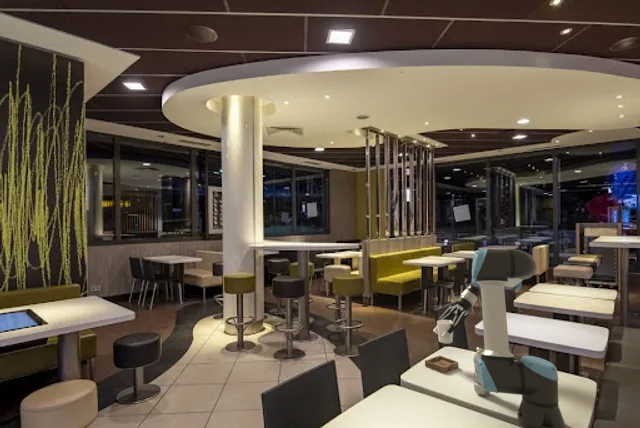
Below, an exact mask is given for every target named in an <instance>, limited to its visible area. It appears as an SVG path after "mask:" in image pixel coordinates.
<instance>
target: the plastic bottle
mask: <svg viewBox="0 0 640 428" xmlns="http://www.w3.org/2000/svg"><path fill="white" fill-rule="evenodd" d="M484 349H485V346H483V345H482V346H481V345H478V346H476V349H475V350H476V353H475V354H474V356H473V359H472V360H473V364H474V374H475V376H474V385H473V387H474V391H475V393H476V394H478V395H479V396H484V397H485V396H489V395H490V394H491V392H489V391H486V390H484V388H483V387H482V384H481V381H480V377H479V372H478V366H477V359H478V358H481V353H482V352H483V351H484Z"/></svg>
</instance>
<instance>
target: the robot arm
mask: <svg viewBox="0 0 640 428" xmlns="http://www.w3.org/2000/svg"><path fill="white" fill-rule="evenodd" d="M536 272H537V262H536V260H535V259H534V258H533V257H532V256H531V254H529V253H527V252H525V251H523V250H520V249H514V248H513V249H512V248H510V249H508V248H506V249H505V248H504V249H502V248H498V249H497V248H484V249H483V248H482V249H477V250H475V252H474V254H473V257H472V263H471V280H470V282H469V285H468V286H467V287H466V288H465V289H464V290H463V292H462V293H460V296H459V297H458V298H457V299H456V300H455V304H454V306H453V305H452V304H450V305H449V306H448V308H447V309H446V310H445V311H444V312H443V313H442V314H441V315H440V316H439V318H438V320H451V319H452V318H453V317H454V318H453V319H452V324H451V326H449V327H448V328H447V329H446V331H445V332H444V333H443V334H442V336H443V337H444V338H445V339H447V338H448V336H449V335H450V334H451V333H452V332H453V333H454V330H459V329H460V328H461V326H462V324H463V323H464V322H465V320H466V318H467V317H468V316H469V314H470V313H468V312H469V311H470V310H471V308H472V307H473V305H474V304H475V303H476V302H477V301H478V299H479V298H481V309H482V310H481V312H482V328H483V343H484V347H485V349H484V351H483V352H482V353H481V358H478V359H477V366H478V372H479V377H480V381H481V384H482V387H483V388H484V390H486V391H489V392H490V393H495V394H499V393H500V394H509V395H519V396H521V401H520V404H519V407H518V409H517V421H518V423H519V424H520V425H521V426H522V427H524V428H565V427H566V424H565V423H566V422H565V419H564V417H563V415H562V411H561V409H560V407H559V375H558V368H557V367H556V366H555V364H554V363H552V362H551V361H548V360H546V359H544V358H541V357H538V356H533V355H523V356H521V358H520V360H515V355H514V354H513V353H512V352H511V351H510V345H509V344H510V343H509V333H508V331H509V330H508V319H507V308H506V307H507V306H506V296H505V295H506V294H505V290H508V291H509V290H510V291H516V290H517V291H518V290H521V288H522V285H523V284H522V283H523V282H522V281H524V280H528V279H530V278H532V277H533V276H534V275H535V274H536ZM432 331H433V333H435V335H438V329H437V325H436V326H435V327H434V329H433V330H432Z"/></svg>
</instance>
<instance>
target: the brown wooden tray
mask: <svg viewBox="0 0 640 428" xmlns="http://www.w3.org/2000/svg"><path fill="white" fill-rule="evenodd" d="M425 366H426V368H428V369H430V368H431V370H433V371H435V370H436V371H435V372H438V373H441V374H443V375H445V374H447V373H450V372H452V371H454V370H457V369H459V361H457V360H453V359H451V358H447V357H445V356H444V355H443V356H442V355H437V356H434V357H431V358H429V359H426V360H424V367H425Z"/></svg>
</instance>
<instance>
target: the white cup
mask: <svg viewBox="0 0 640 428" xmlns="http://www.w3.org/2000/svg"><path fill="white" fill-rule="evenodd" d="M452 322H453V320H451V319H449V320H440V319H438V320H437V321H436V326H437V329H438V334H437V336H438V337H437V338H438V342H439V343H441V344H451V343H452V344H453V341H454V340H453V337H454V331H453V332H452V333H451V334H450V335H449V336H448V338H447V339H445V338H444V337H443V336H442V334H443V333H444V332H445V331H446V329H447V328H448V327H449V326H451V324H452Z"/></svg>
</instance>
